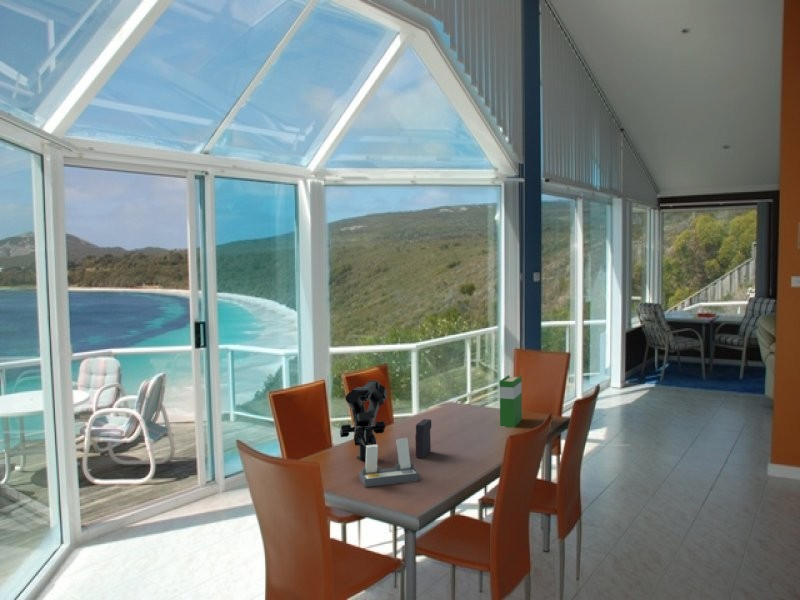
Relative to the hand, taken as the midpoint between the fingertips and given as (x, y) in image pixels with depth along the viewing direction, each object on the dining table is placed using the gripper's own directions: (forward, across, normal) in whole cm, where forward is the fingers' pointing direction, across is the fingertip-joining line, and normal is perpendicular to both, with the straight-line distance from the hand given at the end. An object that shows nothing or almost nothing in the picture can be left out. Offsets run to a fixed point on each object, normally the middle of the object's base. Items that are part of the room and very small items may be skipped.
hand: (366, 446), depth 260 cm
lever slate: (+11, +14, -2) cm, 18 cm away
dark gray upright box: (-3, +30, +20) cm, 36 cm away
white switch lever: (+12, 0, -1) cm, 12 cm away
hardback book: (-29, +92, +46) cm, 107 cm away
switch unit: (+14, +7, +2) cm, 16 cm away
